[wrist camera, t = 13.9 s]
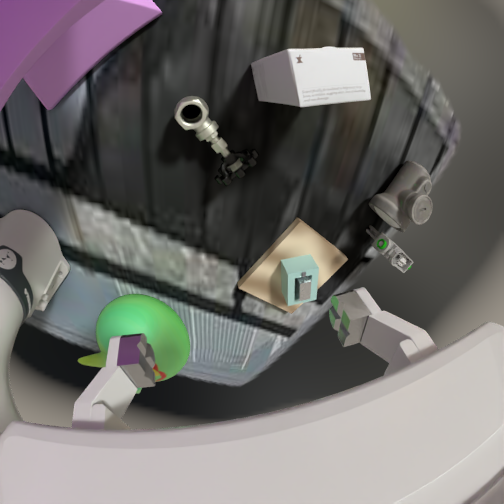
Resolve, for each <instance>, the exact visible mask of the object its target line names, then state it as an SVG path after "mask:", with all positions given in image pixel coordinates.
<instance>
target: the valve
mask: <svg viewBox="0 0 504 504" xmlns="http://www.w3.org/2000/svg"><path fill="white" fill-rule="evenodd" d="M190 104H194V105H197V106H199V107H200V108H201V112H200V114H199V116H198V117H196V118H194V119H188V118H186V117H185V116H184V115H183V113H182V109H183V108H184V107H185V106H187V105H190ZM208 113H209V110H208V106H207V104H206V102H205V101H204V100H203V99H201V98H199V97H196V96H189V97H186V98H183V99H182V100H181V101H179V103H178V104H177V105H176V108H175V112H174V114H175V119H176V121H177V122H178V124H179V125H181V126H182V127H183V128H184V129H185V130H189V129H194V130H195V131H196V137H197V138H198V139H199V140H200V141H202V140H204V139H206V141H207V142H208V141H210V142H211V147H212V148H213V149H214V150H215V151H216V153H219V152H220V153H221V154H222V155H223V157H222V158H221V160H222V161H223V163H222V164H221V167H220V168H219V170H218V172H219V173H220V174H221V175H222V176H221V177H219V176H218V175H217V176H216V177H215V180H216V181H217V182H218V184H222V183H224V184H225V185H229V184H230V183H231V182H232V179H233V178H235V177H236V176H237V177H238V178H242V177H243V176H244V175H245V174H246V172H245V170H246V169H247V168H248V167H253V166H254V165H256V163H257V161H256V160H255V158H257V157H258V155H259V154H258V152H257V151H256V150H255V149H252V150H250V151H251V152H252V153H251V154H250V152H249V151H248V150H247V149H245V150H243V151H242V152H236V153H235V152H234V150H231V151H229V150H228V149H227V148H226V147H227V144H226V142H225V141H224V140H223V139H222V138H221V137H218V136H217V135H218V133H217V131H216V130H217V129H218V127H219V126H218V125H217V123H216V122H215V121H211V120H210V119H209V118H208ZM244 160H245V162H244V163H243V164H242V163H241V162H242V161H244ZM226 166H227V167H226ZM225 167H226V168H225ZM230 170H232V171H233V172H231V173H229V172H230ZM228 173H229V174H228Z"/></svg>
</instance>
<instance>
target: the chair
mask: <svg viewBox="0 0 504 504" xmlns="http://www.w3.org/2000/svg"><path fill="white" fill-rule="evenodd" d="M160 15H162V12H161V10H160V9H159V8H158V7H157V6H156V5H155V3H154V2H153V1H152V0H0V112H1V110H2V108H3V107H4V105H5V103H6V102H7V100H8V99H9V97H10V95H11V94H12V92H13V91H14V89H15V88H16V86H17V85H18V83H19V82H20V81H21V79H22V78H23V79H24V80H25V81H26V83H27V84H28V85H29V87H30V88H31V89H32V91H33V92H34V93H35V95H36V96H37V97H38V99H39V100H40V101H41V102H42V104H43V105H44V106H45V107H46V109H47V110H51V109H53V108H54V107H55V106H56V105H57V104H58V103H59V102H60V100H61V99H62V98H63V97H64V96H65V95H66V94H67V93H68V92H69V91H70V90H71V89H72V88H73V87H74V86H75V85H76V84H77V83H78V82H79V81H80V80H81V79H82V78H83V77H84V76H85V75H86V74H87V73H88V72H89V71H90V70H91V69H92V68H93V67H94V66H95V65H96V64H98V63H99V62H100V61H101V60H102V59H103V58H104V57H106V56H107V55H108V54H109V53H110V52H111V51H113V50H114V49H115V48H116V47H118V46H119V45H120V44H121V43H123V42H124V41H125V40H126V39H128V38H129V37H130V36H132V35H133V34H134V33H136V32H137V31H139V30H140V29H141V28H143V27H144V26H146V25H147V24H148V23H150V22H151V21H153V20H154V19H156V18H157V17H159V16H160Z"/></svg>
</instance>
